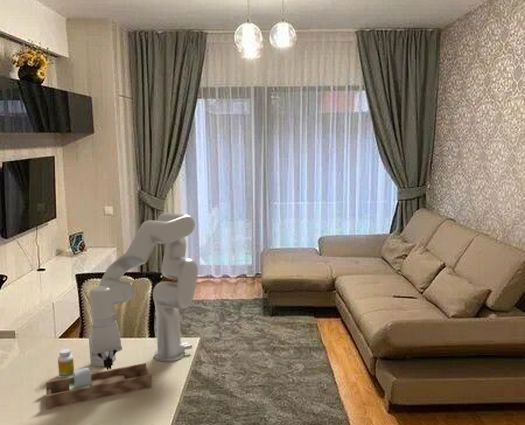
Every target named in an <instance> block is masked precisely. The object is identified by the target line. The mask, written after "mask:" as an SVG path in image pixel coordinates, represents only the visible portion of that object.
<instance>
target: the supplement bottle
mask: <svg viewBox="0 0 525 425" xmlns="http://www.w3.org/2000/svg"><path fill="white" fill-rule="evenodd" d="M58 352H59V356H58V358H57V364H58V376H59V377H60V378H61V379H64V378H69V377H70V376H74V373H73V371H75V367H74V366H75V364H74V356H73V354H72V350H71V349H69V348H64V349H61V350H59V351H58Z"/></svg>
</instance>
